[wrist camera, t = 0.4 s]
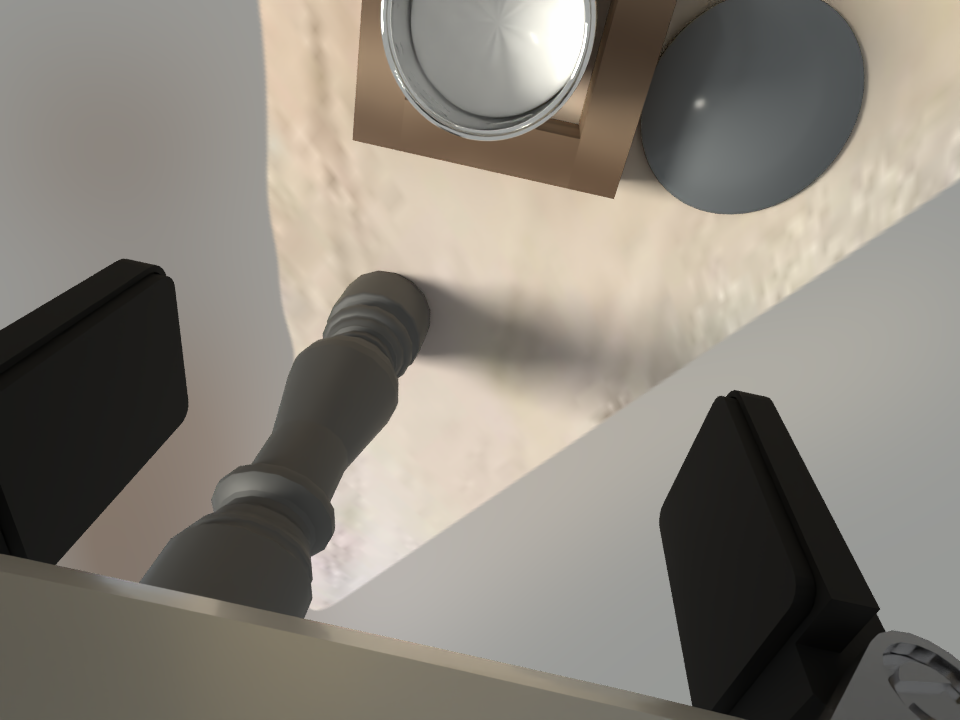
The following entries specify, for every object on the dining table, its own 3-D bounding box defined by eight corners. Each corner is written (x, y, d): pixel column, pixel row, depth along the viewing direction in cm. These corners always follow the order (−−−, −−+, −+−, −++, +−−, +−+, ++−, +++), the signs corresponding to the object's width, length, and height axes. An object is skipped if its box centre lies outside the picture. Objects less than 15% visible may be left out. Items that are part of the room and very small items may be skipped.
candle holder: (399, 255, 38) (199, 577, 17) (447, 332, 41) (323, 692, 20) (325, 292, 40) (63, 619, 19) (374, 363, 43) (191, 718, 22)
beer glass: (611, 32, 30) (646, 58, 18) (500, 115, 33) (462, 189, 20) (537, -105, 28) (517, -191, 15) (424, -3, 30) (326, -3, 18)
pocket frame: (400, -196, 27) (377, -223, 23) (702, -128, 27) (723, -146, 23) (373, 125, 34) (352, 140, 31) (608, 178, 34) (613, 198, 31)
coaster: (684, -34, 28) (685, -34, 28) (906, 16, 28) (910, 16, 28) (614, 189, 34) (614, 191, 34) (797, 230, 34) (800, 232, 34)
